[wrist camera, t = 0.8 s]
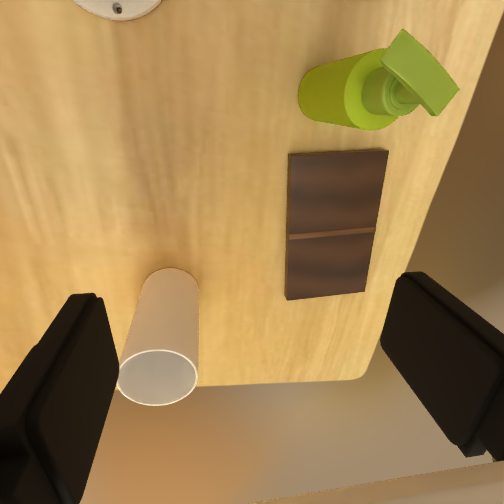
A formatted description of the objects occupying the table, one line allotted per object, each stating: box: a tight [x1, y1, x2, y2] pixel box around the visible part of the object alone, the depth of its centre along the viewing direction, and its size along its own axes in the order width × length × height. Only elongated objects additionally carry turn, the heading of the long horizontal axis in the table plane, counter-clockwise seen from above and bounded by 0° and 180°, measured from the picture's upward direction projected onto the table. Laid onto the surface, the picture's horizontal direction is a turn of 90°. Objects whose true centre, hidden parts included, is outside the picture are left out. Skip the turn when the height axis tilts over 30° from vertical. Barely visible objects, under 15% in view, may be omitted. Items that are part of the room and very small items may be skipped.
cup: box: [116, 268, 199, 406], centre depth 38 cm, size 8×8×16 cm
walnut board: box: [285, 149, 389, 301], centre depth 44 cm, size 22×13×2 cm, turn 2°
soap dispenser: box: [298, 29, 459, 130], centre depth 27 cm, size 6×7×20 cm
